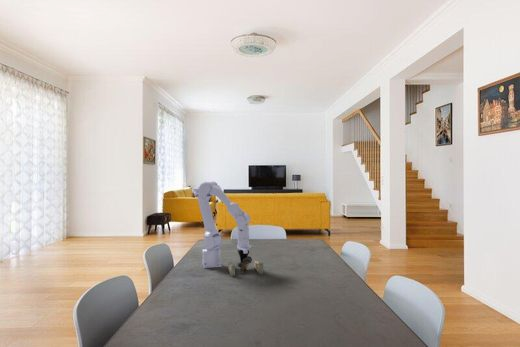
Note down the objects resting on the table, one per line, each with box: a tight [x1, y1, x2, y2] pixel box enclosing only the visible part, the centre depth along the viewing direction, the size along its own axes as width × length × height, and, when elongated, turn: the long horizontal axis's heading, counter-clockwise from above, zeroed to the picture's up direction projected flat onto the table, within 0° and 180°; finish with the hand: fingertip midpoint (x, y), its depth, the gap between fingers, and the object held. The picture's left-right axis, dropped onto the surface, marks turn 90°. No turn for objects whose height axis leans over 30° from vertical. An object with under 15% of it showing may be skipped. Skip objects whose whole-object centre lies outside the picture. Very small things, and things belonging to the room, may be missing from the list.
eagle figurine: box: [235, 255, 253, 273], centre depth 156 cm, size 8×7×9 cm
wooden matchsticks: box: [227, 260, 264, 278], centre depth 154 cm, size 16×14×5 cm
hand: (243, 264), depth 159 cm, fingers closed
